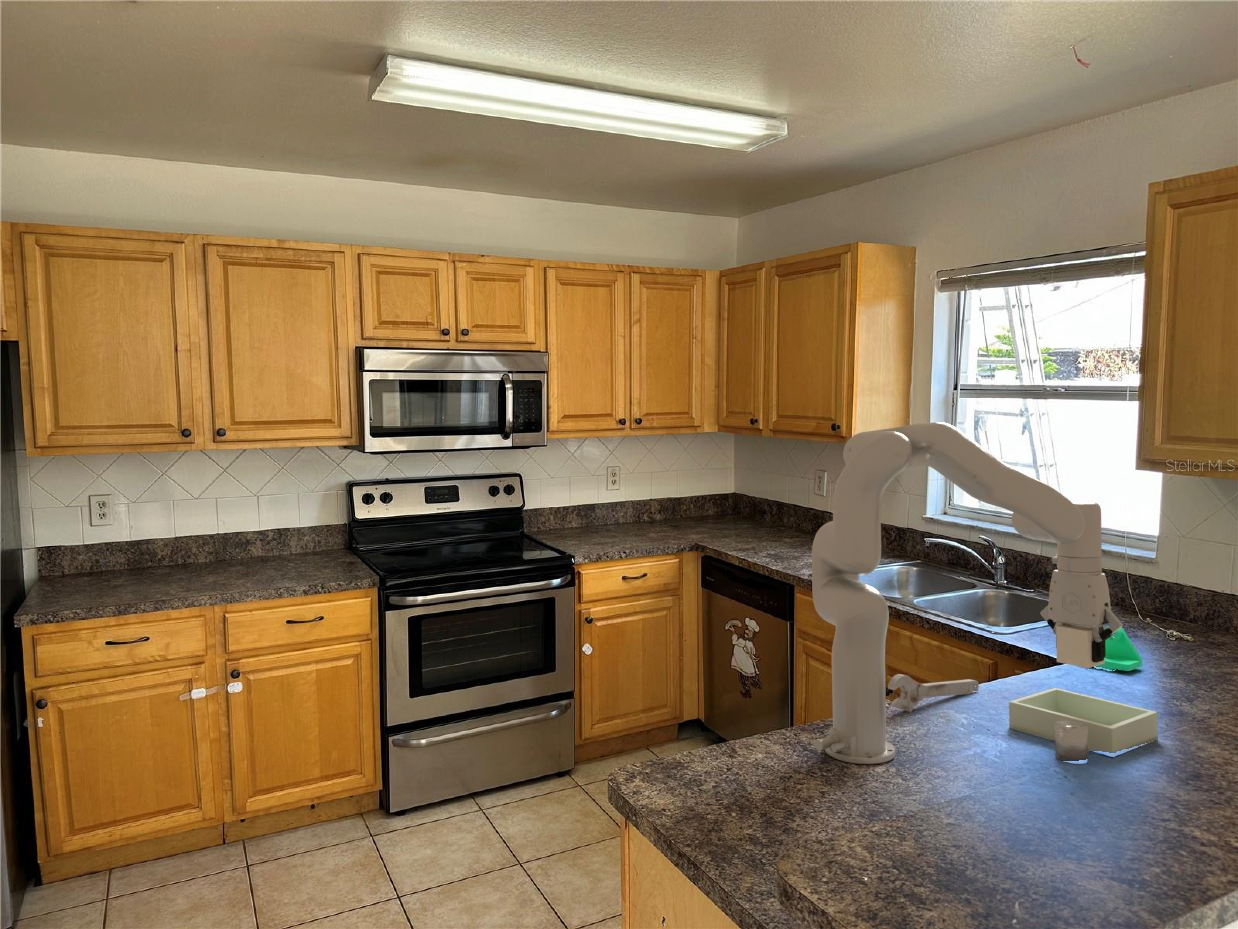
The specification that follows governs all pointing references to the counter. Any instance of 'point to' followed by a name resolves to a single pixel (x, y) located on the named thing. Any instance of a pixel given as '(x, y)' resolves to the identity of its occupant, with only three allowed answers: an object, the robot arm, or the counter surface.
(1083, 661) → the flour box
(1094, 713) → the crate
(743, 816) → the counter surface
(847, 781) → the counter surface
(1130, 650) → the camera mount
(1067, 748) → the tea tin
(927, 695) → the wrench
